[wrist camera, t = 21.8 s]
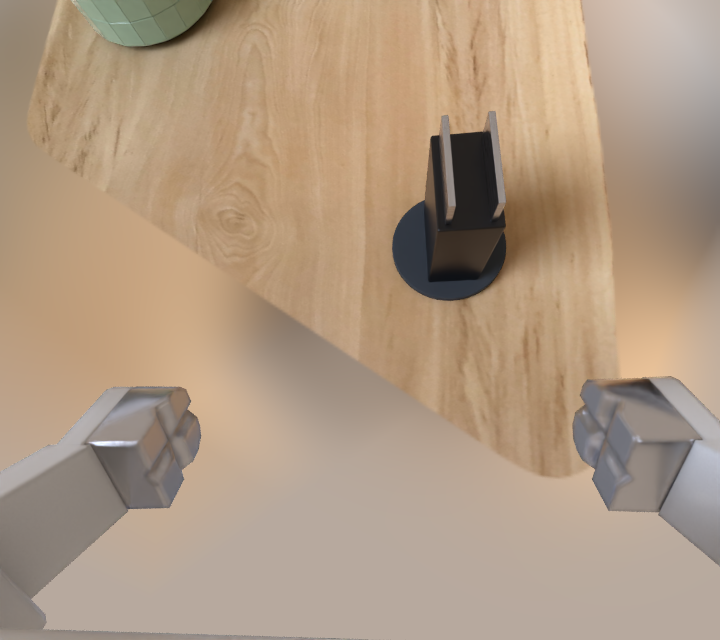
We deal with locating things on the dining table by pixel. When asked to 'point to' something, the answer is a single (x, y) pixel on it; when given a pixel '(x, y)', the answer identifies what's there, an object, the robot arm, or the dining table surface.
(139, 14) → the green bowl
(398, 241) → the coaster
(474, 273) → the clip
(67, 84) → the dining table surface
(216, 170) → the dining table surface
